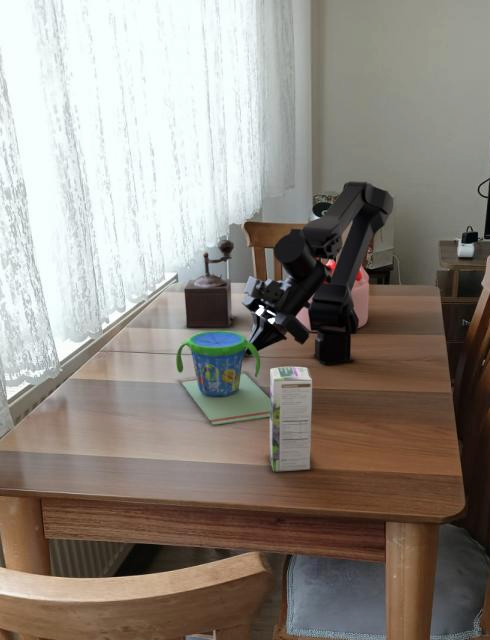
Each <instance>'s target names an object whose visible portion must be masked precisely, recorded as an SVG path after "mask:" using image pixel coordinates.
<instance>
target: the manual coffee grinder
mask: <svg viewBox="0 0 490 640" xmlns="http://www.w3.org/2000/svg"><path fill="white" fill-rule="evenodd" d="M234 247H235V244H234V242H233V241H232V240H229V239H222V240H220V241H219V242H218V243H217V248H218V250H219V251H220V257H219V258H218V259H210V258H209V253H208V252H203V254H202V257H203V258H202V259H203V263H204V274H203V275H201V276H199V277H197V278H195V279H189V281H188V282H187V284H186V286H185V287H184V302H185V303H184V304H185V318H186V328H191V329H192V328H195V329H196V328H199V329H201V328H202V329H203V328H204V329H205V328H208V329H211V328H229V327H230V326H231V324H232V322H233V321H234V319H235V316H234V315H233V311H232V309H233V308H232V305H233V304H232V285H231V282H232V280H231V278H222V277H223V274H220V276H218V275H216V274H214V273H212V274H211V273H210V268H209V267H210V266H209V264H219V263H222V262H225V263H227V261H228V260H232V259H233V258H232V251H233V250H234Z"/></svg>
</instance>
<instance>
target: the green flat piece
mask: <svg viewBox="0 0 490 640" xmlns="http://www.w3.org/2000/svg"><path fill="white" fill-rule="evenodd" d="M179 381H180V383H181V385H183V387H184V388H185V390H186V391H187V392H188V394H189V395H190V396H191V398H192V399H193V401H194V402H195V403H196V405H197V406H198V407H199V409H200V410H201V411H202V413H203V414H204V415H205V417H206V418H207V419H208V421H209V422H210V423H211V425H212V426H218V425H224V424H231V423H238V422H239V423H240V422H244V421H245V422H246V421H251V420H259V419H264V418H270V396H268V395H267V394H266V393H265V392H264V391H263V390H262V389H261V388H260V387H259V386H258V385H257V384H256V383H255V382H254V381H253V380H252V379H251V378H250V377H249V376H248V375H247V374H246V373H245V372H244V371H243V370H241V376H240V384H239V389H238V391H236V392H235V393H233V394H230V395H227V396H221V395H219V396H210V395H205V394H204V393H202V392H201V391H200V390H199V386H198V382H197V377H191V378H183V379H179Z"/></svg>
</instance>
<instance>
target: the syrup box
mask: <svg viewBox="0 0 490 640" xmlns="http://www.w3.org/2000/svg"><path fill="white" fill-rule="evenodd" d="M269 374H270V376H269V378H270V379H269V380H270V381H269V382H270V383H269V384H270V385H269V389H270V390H269V398H270V417H269V459H270V465H271V468H272V471H273V472H274V473H275V472H276V473H277V472H291V471H304V470H305V471H306V470H311V447H312V446H311V443H312V442H311V440H312V414H313V413H312V412H313V411H312V408H313V406H312V405H313V379H312V376H311V372H310V370H309V368H307V367H303V366H279V367H273V368H270V371H269Z"/></svg>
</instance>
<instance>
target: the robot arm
mask: <svg viewBox="0 0 490 640" xmlns="http://www.w3.org/2000/svg"><path fill="white" fill-rule="evenodd" d="M393 210H394V197H393V196H392V195H391V194H390V193H389V191H388V190H386V189H385V190H384V189H381V188H379V187H376V186H374V185H373V184H372V183H370V182H368V181H357V180H355V181H354V180H352V181H351V180H349V181H348V182H345V183H344V184H343V187H342V190H341V192H340V194H339V195H338V196H337V197H336V199H335V200H334V201H333V202H332V203H331V205H330V207H329V208H328V209H327V210H326V212H325V213H324V214H323V215H322V216H321V217H318V218H315V219H313V220H310V221H308V223H306V224H305V225H304V226H303V227H302V228H294V227H293V228H290V230H289V233H288V234H285V235H284V236H282V237H281V238H280V239H279V240H278V241H277V242H276V243H275V245H274V247H273V248H274V249H273V255H274V258H275V259H276V260H277V261H278V263H279V264H280V266H281V267H282V268H283V270H284V271H285V272H286V273H287V275H288V276H287V277H286V278H285V280H284V281H283V280H282V279H279V280H275V279H272V278H268V279H267V280H266V281H264V280H262V279H259V278H257V277H254V276H252V275H249V276H248V279H247V283H246V285H245V286H244V290H243V293H245V294H247V295H246V296H245V297H244V298H243V300H241V304H242V305H243V306H244V307H245V308H246V309H247V310H249V311H250V313H251V316H252V320H253V325H252V328H251V331H250V334H249V336H248V339H247V341H248V342H250V343H252V344H253V345H254V347H255V348H256V349H257V351H258V352H259V351H261V350H264V349H266V348H268V347H269V346H272V345H275V344H277V343H279V342H282V341H286V340H287V339H288V338H287V336H286V335H287V334H289V335H291V336H292V337H293V340H294V341H295V342H296V343H298V344H300V345H301V346H303V345H304V344H305V343H306V342H307V340H308V339H309V338H310V332H312V331H317V332H316V335H317V336H316V337H315V338H314V354H313V358H315V359H316V360H317V361H319V362H320V363H322V364H323V365H325V366H331V365H337V364H345V363H352V362H354V360H355V358H353V357H352V356H351V347H352V346H351V345H352V335H356V334H357V332H358V329H359V328H358V323H359V319H358V317H357V315H356V313H355V311H354V309H353V308H354V303H353V299H352V295H351V291H352V288H353V285H354V283H355V280H356V277H357V275H358V272H359V269H360V267H361V264H362V265H363V261H364V259H365V256H366V254H367V251H368V248H369V245H370V244H371V240H372V238H373V235H374V234H375V233H376V232H377V231H379V230H380V229H382V228H383V227H384V226H385V225H386V223H387V221H388V219H389V217H390V215H391V214H392V213H393ZM350 224H351V225H350ZM349 226H350V227H349ZM348 227H349V230H348V232H347V235H346V238H345V240H344V241H343V234H344V233H345V231H346V230H347V229H348ZM337 256H338V258H337ZM316 258H318V259H319V260H318V259H316ZM336 258H337V261H336V262H335V263H336V266H335V268H334V271H333V273H332V276H331V271H332V269H331V268H330V267H328V266H326V265H327V264H325V263H324V262H323V261H321V260H322V259H323V260H329V259H331V260H332V259H333V260H334V259H336ZM323 263H324V264H323ZM324 281H325V282H327V283H323V282H324ZM314 293H315V294H314ZM313 295H314V296H313ZM312 296H313V297H312ZM311 297H312V301H311V303H309V302H308V301H309V299H310V298H311ZM303 307H305V308H307V309H308V315H309V321H310V327H311V331H309V330H308V329H307V328H306V327H305V326H304V325H303V324H302V323H301V322H300V321H299V320H298V319H297V318H296V316H297V314H298V313H299V312H300V311H301V309H302V308H303ZM244 355H246V356H248V357H249V356H252V355H253V354H252V353H251V351H250V349H248V348H246V349H245V354H244Z"/></svg>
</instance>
